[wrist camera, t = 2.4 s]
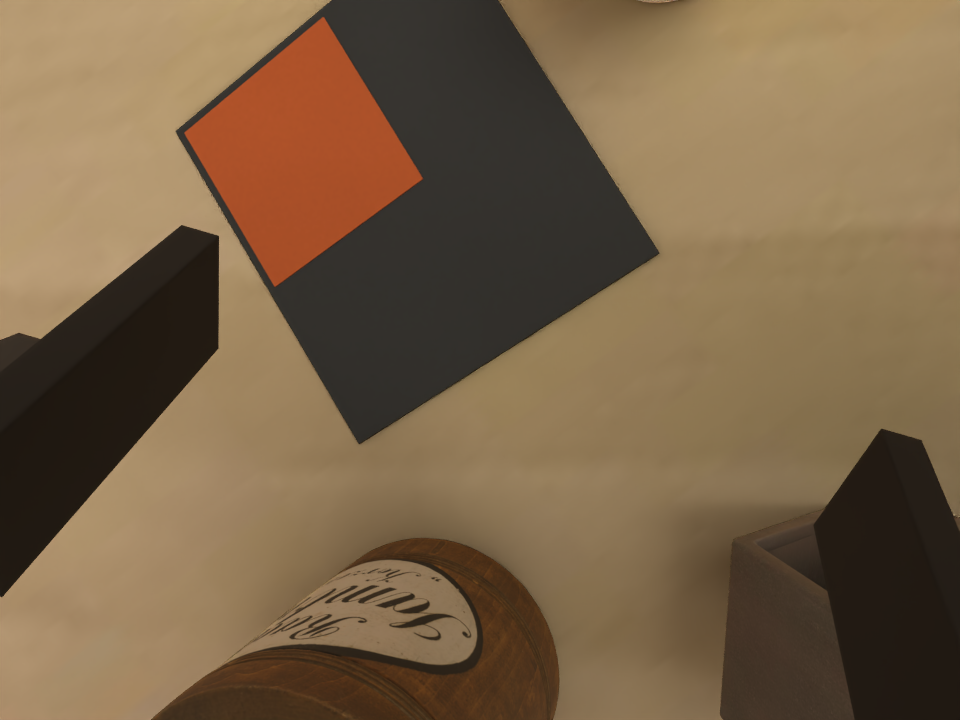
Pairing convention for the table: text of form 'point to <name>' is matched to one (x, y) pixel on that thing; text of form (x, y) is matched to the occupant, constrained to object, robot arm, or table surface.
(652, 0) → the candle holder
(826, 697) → the planter
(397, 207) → the desk mat
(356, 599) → the wooden container
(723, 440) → the table surface
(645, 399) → the table surface
